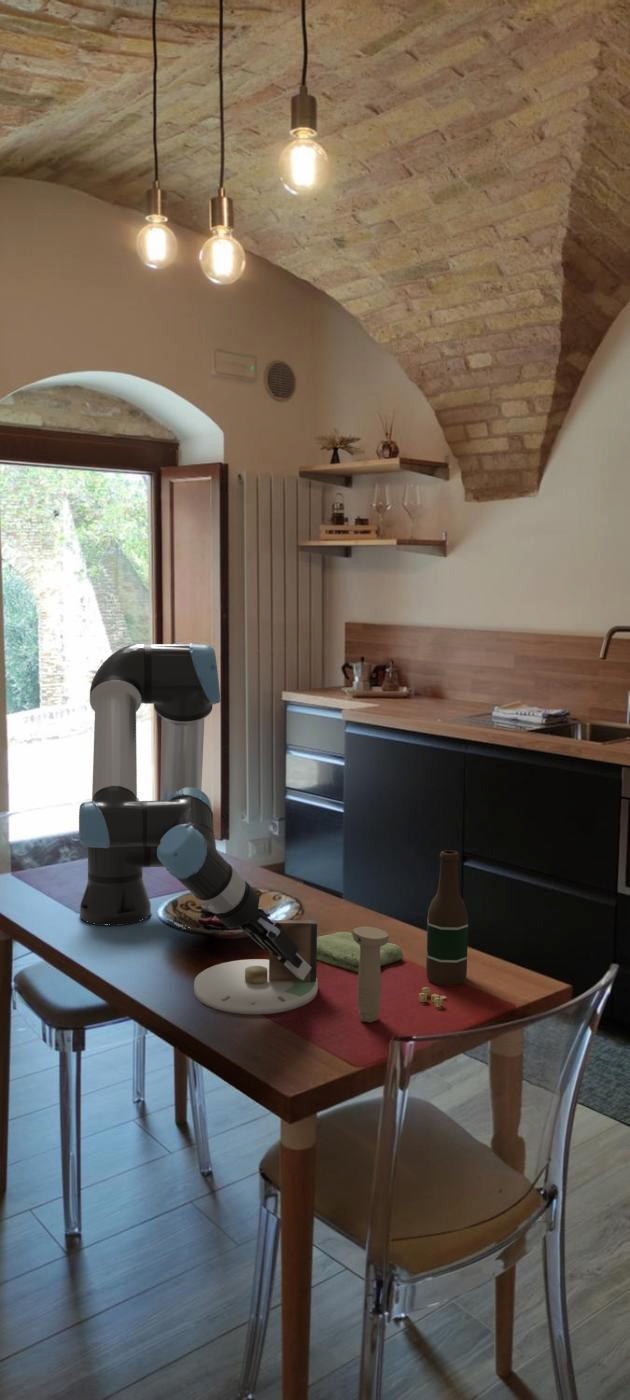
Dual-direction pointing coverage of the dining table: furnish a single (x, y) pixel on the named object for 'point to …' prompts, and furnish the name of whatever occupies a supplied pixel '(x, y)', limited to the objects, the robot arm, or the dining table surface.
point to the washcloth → (350, 951)
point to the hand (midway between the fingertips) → (304, 972)
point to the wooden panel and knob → (306, 942)
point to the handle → (369, 971)
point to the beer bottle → (447, 927)
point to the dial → (250, 990)
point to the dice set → (434, 997)
